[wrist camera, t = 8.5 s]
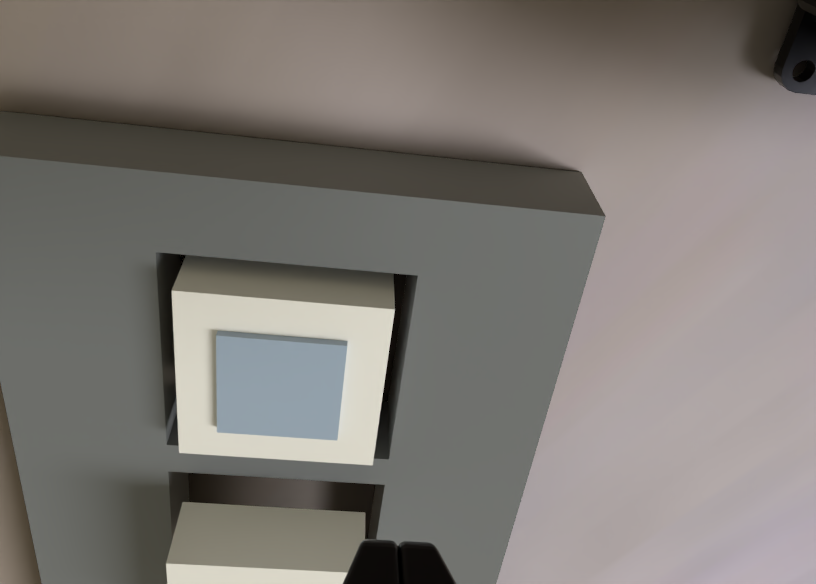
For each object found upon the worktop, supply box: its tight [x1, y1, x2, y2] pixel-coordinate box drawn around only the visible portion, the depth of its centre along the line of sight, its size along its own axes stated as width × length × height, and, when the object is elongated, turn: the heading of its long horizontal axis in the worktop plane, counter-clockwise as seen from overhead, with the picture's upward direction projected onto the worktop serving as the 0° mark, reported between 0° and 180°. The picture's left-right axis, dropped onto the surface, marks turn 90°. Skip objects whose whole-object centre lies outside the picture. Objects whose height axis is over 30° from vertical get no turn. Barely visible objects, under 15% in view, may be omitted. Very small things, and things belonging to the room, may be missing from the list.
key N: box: [172, 255, 395, 465], centre depth 19 cm, size 5×5×2 cm
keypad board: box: [0, 111, 606, 584], centre depth 24 cm, size 14×24×2 cm, turn 173°
